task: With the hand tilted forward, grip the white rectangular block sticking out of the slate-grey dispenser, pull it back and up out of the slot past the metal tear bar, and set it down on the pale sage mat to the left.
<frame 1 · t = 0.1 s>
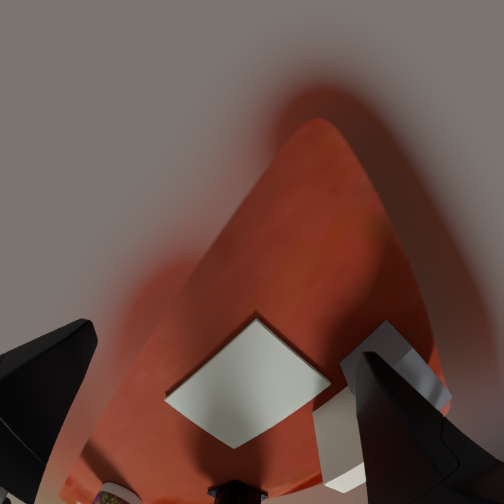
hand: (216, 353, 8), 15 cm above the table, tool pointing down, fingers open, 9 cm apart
mat: (243, 393, 25), on the table
white rectangular block: (350, 397, 25), on the table
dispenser: (387, 366, 24), on the table
milk bottle: (123, 492, 32), on the table
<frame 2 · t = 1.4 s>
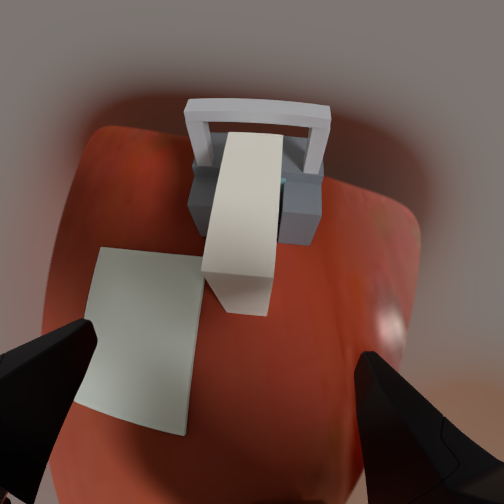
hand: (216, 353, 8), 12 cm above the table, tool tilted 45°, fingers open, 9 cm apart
mat: (135, 336, 20), on the table
white rectangular block: (252, 264, 22), on the table
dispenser: (257, 208, 24), on the table
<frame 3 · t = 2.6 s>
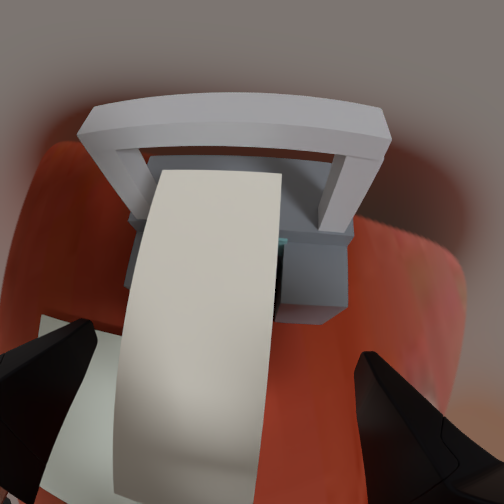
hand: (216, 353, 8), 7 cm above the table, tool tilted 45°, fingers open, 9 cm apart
mat: (90, 434, 12), on the table
white rectangular block: (235, 355, 14), on the table
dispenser: (245, 267, 16), on the table
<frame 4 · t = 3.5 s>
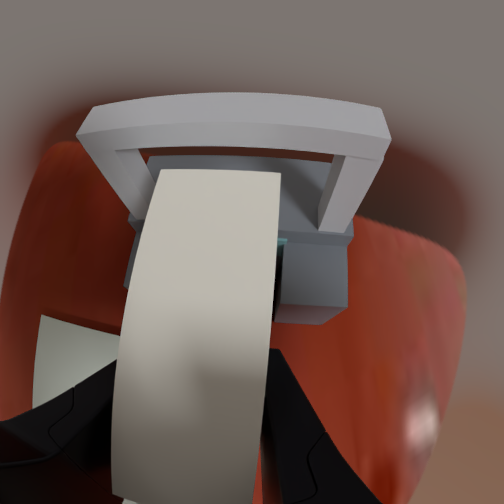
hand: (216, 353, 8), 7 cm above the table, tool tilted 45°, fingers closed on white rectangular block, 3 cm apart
mat: (90, 434, 12), on the table
white rectangular block: (235, 355, 14), on the table, touching gripper
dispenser: (244, 267, 16), on the table
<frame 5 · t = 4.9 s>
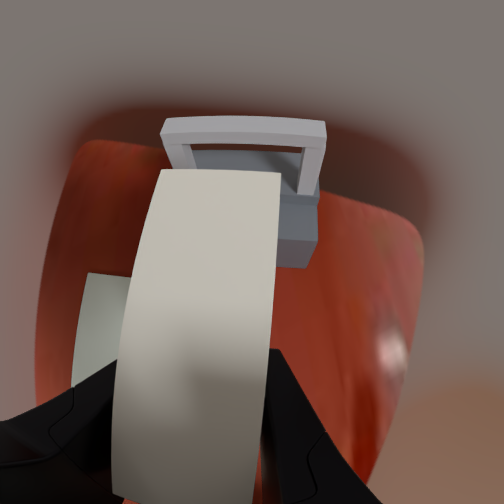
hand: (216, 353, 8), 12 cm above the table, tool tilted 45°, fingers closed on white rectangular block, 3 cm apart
mat: (126, 366, 19), on the table
white rectangular block: (235, 355, 14), point 5 cm above the table, touching gripper
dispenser: (250, 229, 23), on the table
when the fingers open (8 cm above the table, at t = 6.6 s): white rectangular block stays where it is, resting on mat.
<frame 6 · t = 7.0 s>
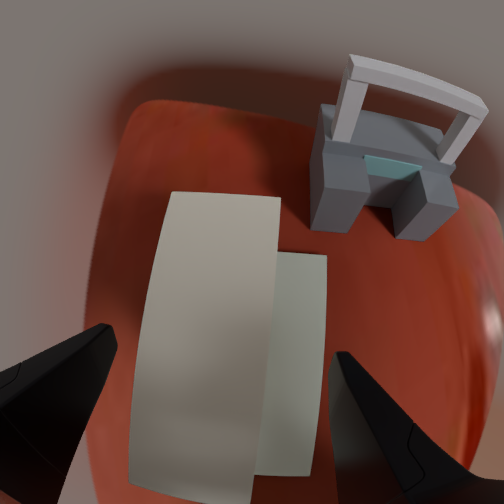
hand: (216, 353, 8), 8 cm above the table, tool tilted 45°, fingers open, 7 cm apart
mat: (236, 363, 16), on the table
white rectangular block: (236, 356, 15), point 1 cm above the table, touching mat
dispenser: (367, 199, 19), on the table
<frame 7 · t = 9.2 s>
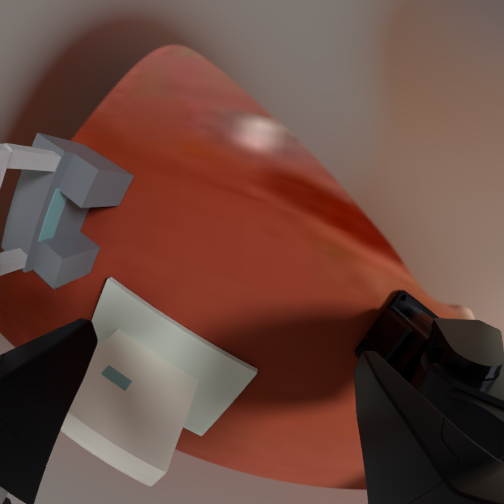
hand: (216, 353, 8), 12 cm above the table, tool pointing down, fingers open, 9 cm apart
mat: (157, 366, 22), on the table
white rectangular block: (151, 367, 21), point 1 cm above the table, touching mat
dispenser: (84, 208, 20), on the table
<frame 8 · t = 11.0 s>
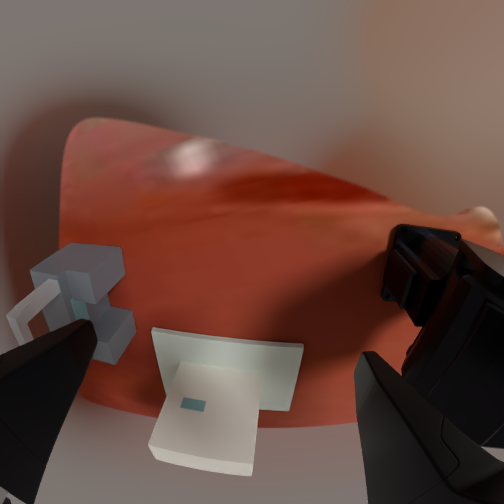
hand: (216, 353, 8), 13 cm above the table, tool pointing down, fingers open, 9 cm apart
mat: (226, 373, 26), on the table
white rectangular block: (220, 377, 26), point 1 cm above the table, touching mat
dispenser: (102, 288, 24), on the table
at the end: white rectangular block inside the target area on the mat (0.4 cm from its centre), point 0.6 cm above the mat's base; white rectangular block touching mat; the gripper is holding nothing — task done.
